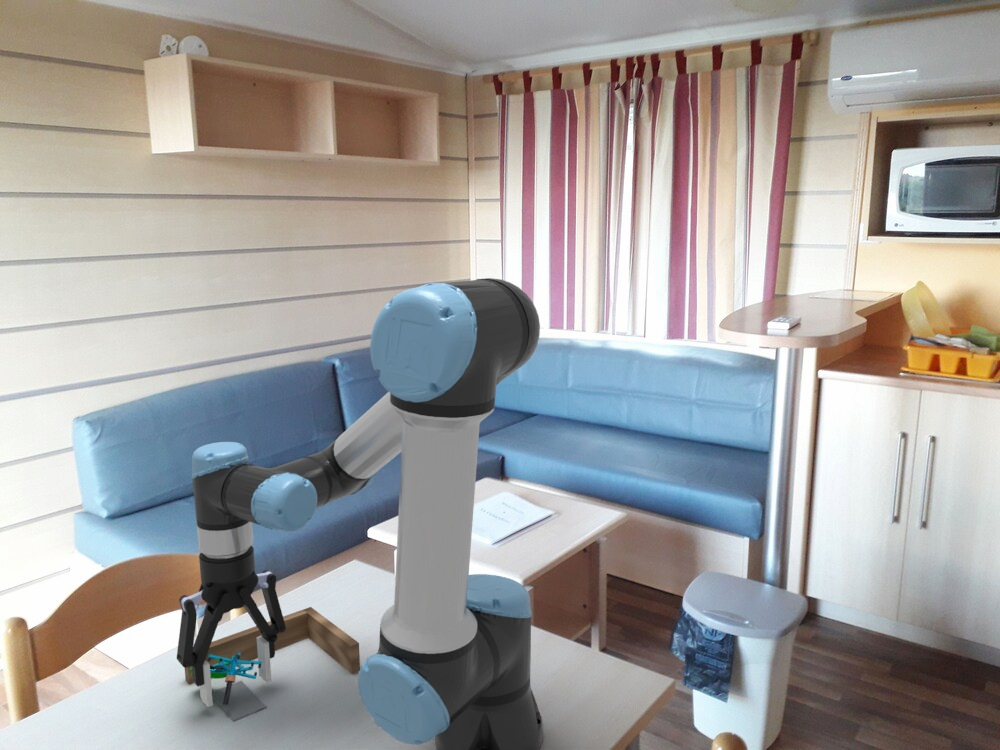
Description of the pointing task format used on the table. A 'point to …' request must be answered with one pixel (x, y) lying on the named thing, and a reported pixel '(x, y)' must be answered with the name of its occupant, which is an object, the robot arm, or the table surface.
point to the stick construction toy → (230, 671)
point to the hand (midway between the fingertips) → (236, 689)
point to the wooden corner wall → (290, 641)
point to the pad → (239, 701)
